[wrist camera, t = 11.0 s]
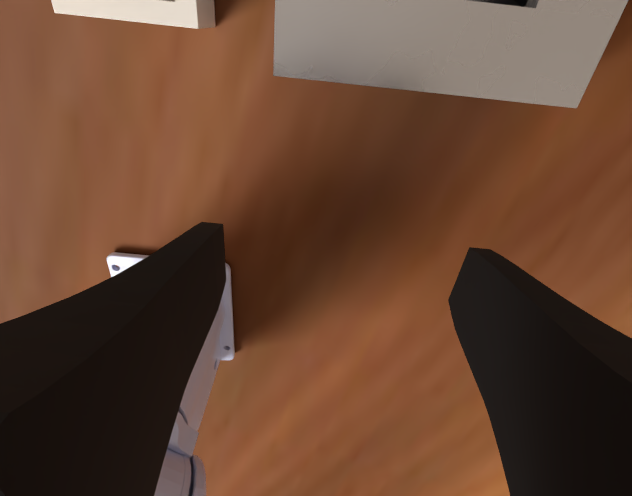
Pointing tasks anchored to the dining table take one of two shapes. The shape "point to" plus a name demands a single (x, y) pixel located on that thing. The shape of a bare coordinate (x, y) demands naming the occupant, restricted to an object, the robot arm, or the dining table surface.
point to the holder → (144, 11)
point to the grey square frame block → (449, 45)
